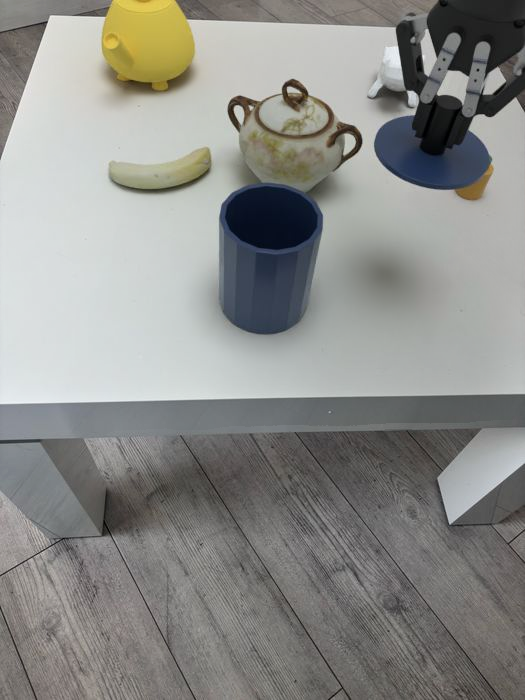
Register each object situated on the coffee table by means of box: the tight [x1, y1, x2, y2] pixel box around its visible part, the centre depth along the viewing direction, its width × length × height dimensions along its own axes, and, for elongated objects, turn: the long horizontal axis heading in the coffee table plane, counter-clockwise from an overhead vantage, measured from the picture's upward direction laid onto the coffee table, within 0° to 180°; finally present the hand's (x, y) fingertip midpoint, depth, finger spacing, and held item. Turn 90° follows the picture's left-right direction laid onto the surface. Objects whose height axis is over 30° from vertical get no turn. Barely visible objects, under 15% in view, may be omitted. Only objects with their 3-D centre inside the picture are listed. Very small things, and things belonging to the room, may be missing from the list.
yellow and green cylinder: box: [455, 154, 495, 201], centre depth 80 cm, size 4×4×6 cm
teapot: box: [100, 0, 196, 92], centre depth 89 cm, size 20×16×14 cm
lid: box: [373, 94, 490, 191], centre depth 54 cm, size 12×12×6 cm
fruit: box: [108, 146, 212, 190], centre depth 79 cm, size 7×15×3 cm, turn 102°
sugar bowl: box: [226, 78, 364, 193], centre depth 76 cm, size 20×15×15 cm
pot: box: [218, 182, 324, 335], centre depth 62 cm, size 11×11×14 cm
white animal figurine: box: [367, 45, 428, 108], centre depth 94 cm, size 8×8×15 cm
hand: (435, 138), depth 55 cm, fingers closed on lid, 2 cm apart
